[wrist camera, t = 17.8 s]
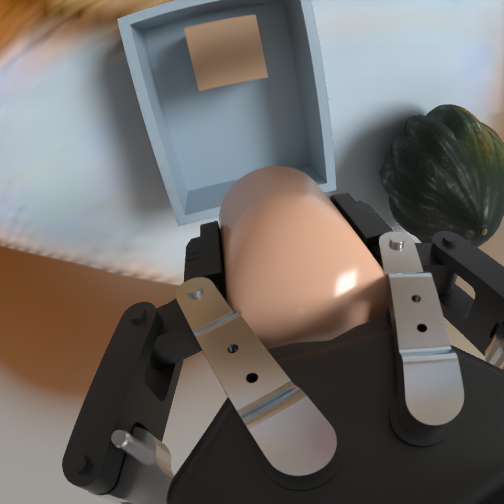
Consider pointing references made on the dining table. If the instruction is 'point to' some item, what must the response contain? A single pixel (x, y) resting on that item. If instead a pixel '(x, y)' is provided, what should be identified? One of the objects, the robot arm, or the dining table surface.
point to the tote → (229, 101)
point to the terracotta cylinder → (295, 260)
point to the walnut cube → (226, 52)
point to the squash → (446, 176)
